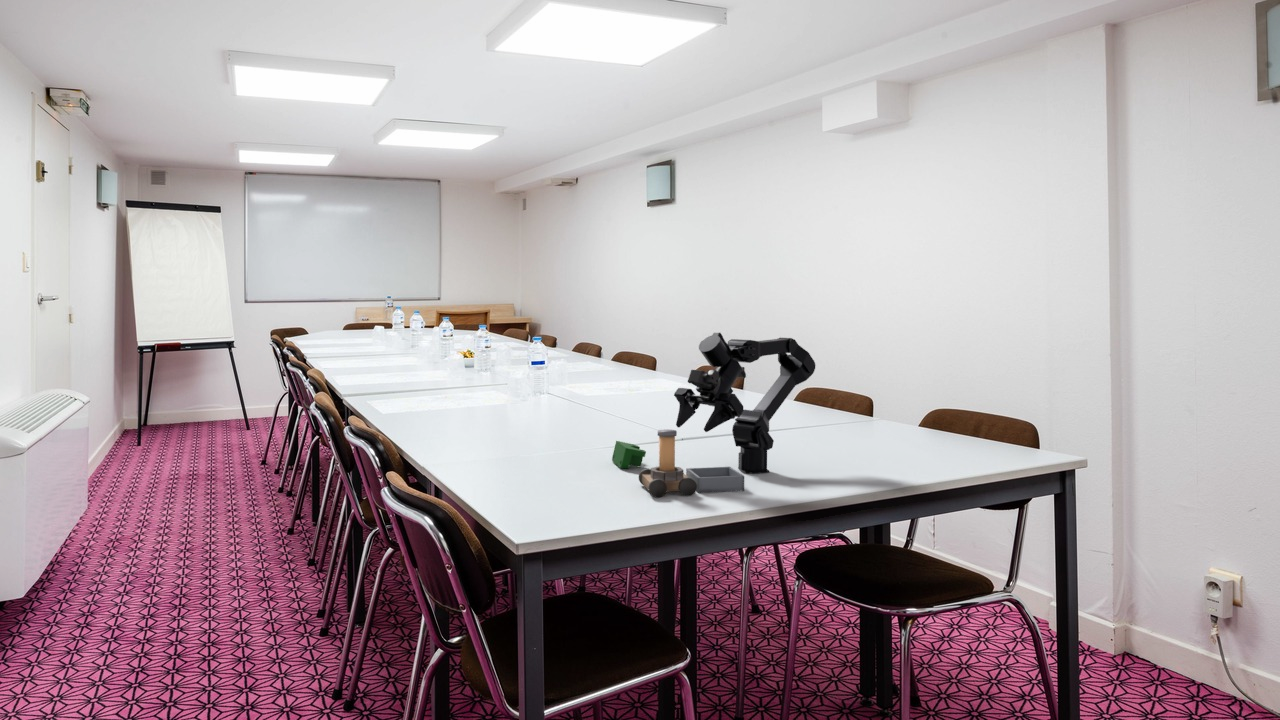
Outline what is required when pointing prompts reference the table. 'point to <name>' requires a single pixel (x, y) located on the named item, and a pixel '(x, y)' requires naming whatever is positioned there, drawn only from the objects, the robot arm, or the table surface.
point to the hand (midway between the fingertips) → (691, 428)
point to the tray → (716, 479)
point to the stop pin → (667, 450)
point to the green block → (627, 455)
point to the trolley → (667, 481)
